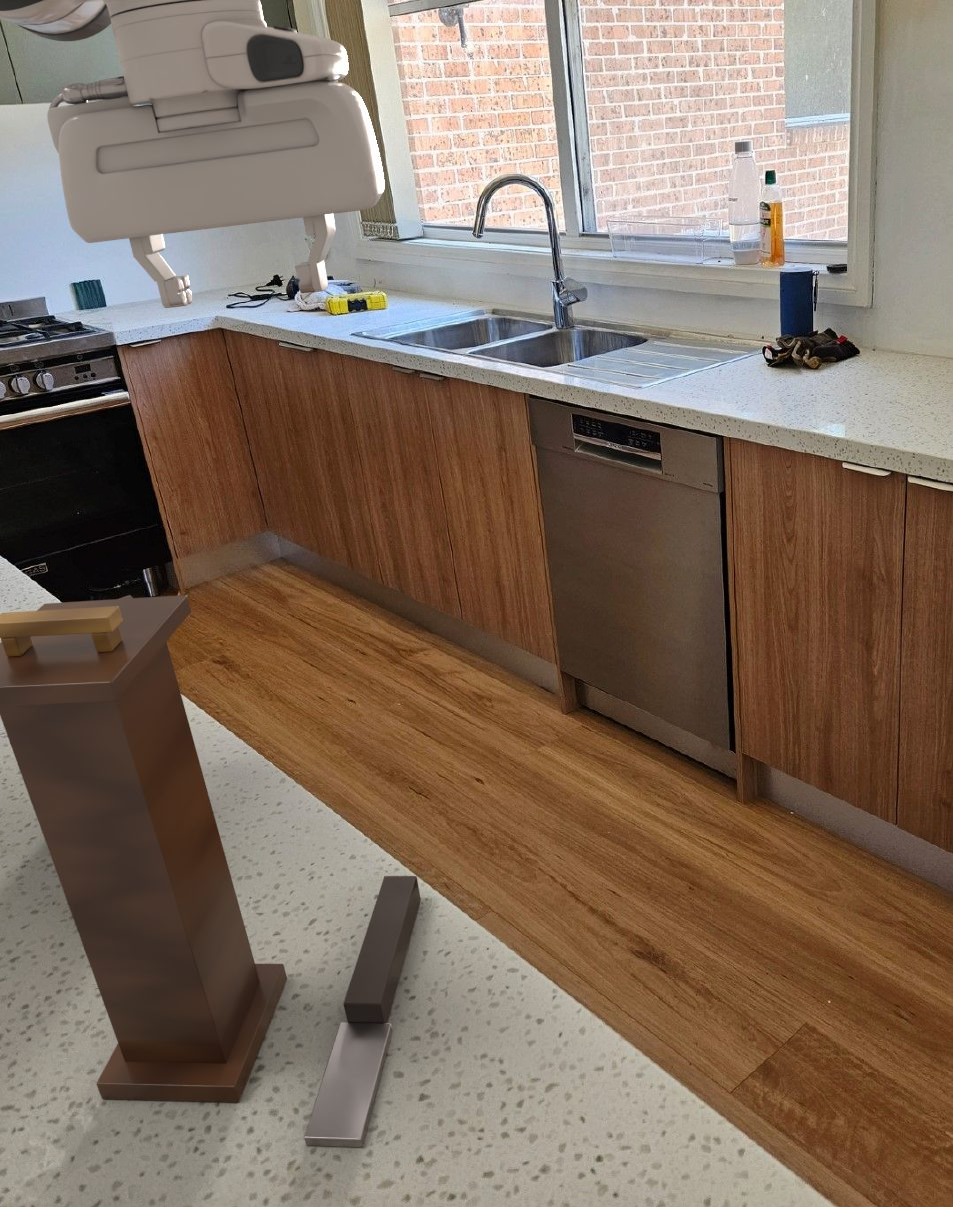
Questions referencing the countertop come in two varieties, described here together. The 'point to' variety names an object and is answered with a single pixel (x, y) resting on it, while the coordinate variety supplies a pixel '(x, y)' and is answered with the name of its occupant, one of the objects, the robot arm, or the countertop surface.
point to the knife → (365, 1021)
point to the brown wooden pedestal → (136, 844)
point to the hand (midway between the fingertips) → (245, 298)
